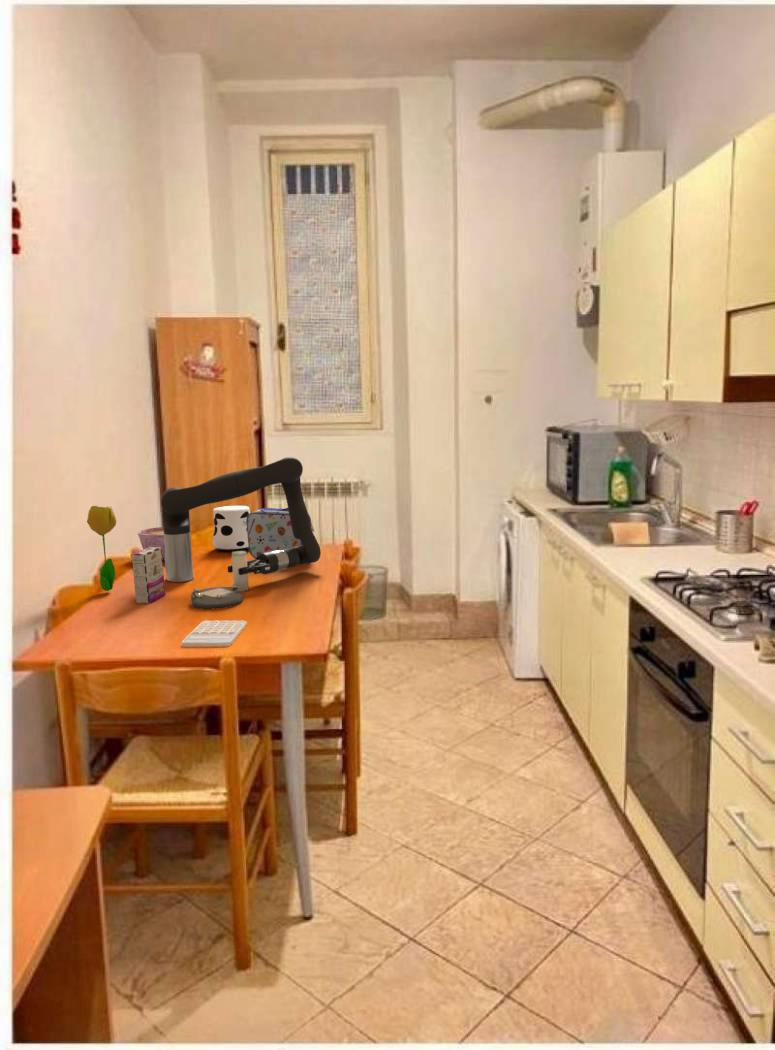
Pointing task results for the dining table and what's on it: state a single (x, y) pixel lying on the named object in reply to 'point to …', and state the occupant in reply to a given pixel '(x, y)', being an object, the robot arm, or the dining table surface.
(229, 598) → the base plate
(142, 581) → the candy bar box
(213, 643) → the calculator
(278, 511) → the lunch box
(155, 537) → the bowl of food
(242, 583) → the column
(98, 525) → the flower
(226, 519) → the milk container
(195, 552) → the dining table surface
